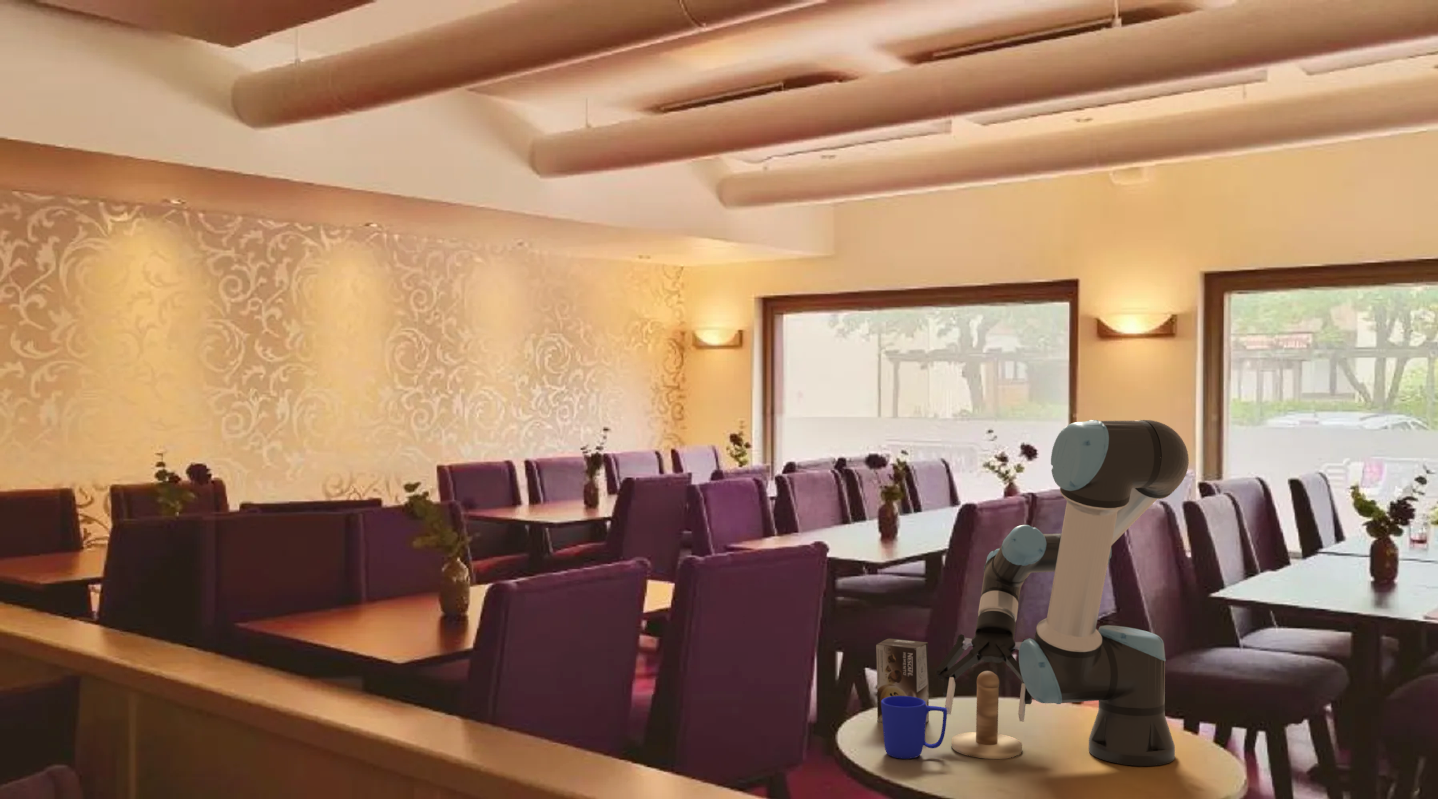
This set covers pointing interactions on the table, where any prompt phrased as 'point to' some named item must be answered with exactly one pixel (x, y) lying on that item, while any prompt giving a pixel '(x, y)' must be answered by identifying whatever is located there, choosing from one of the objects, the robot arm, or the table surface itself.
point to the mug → (907, 725)
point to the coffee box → (902, 671)
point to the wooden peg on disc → (987, 725)
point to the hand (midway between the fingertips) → (984, 714)
